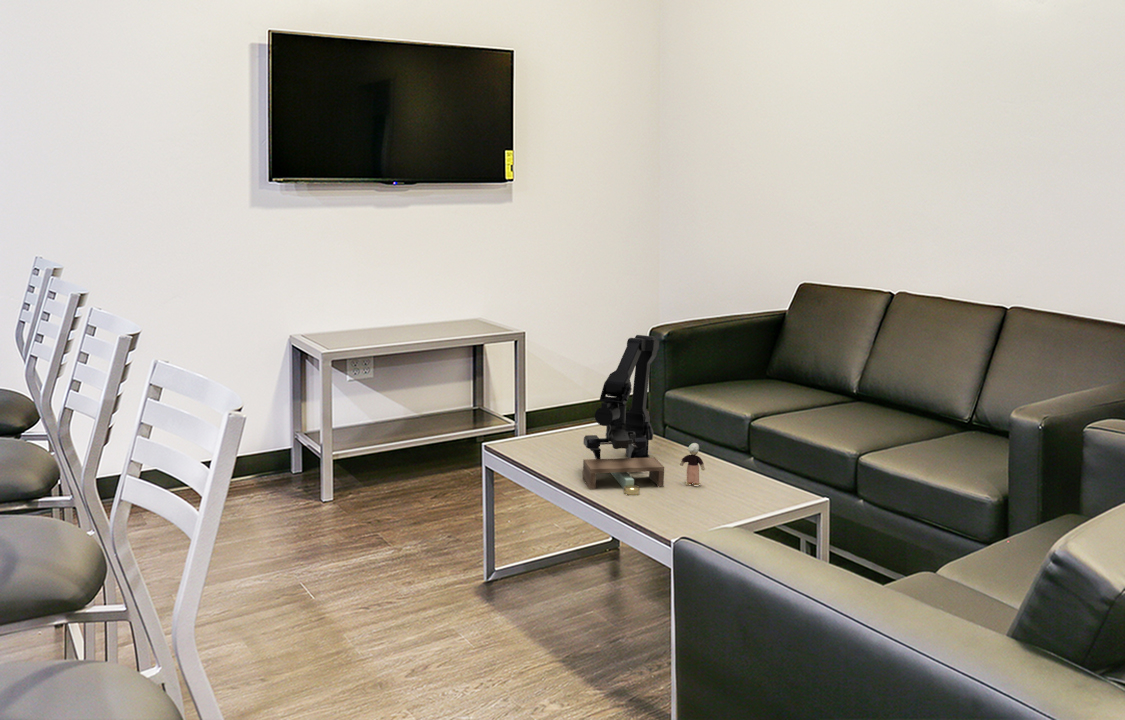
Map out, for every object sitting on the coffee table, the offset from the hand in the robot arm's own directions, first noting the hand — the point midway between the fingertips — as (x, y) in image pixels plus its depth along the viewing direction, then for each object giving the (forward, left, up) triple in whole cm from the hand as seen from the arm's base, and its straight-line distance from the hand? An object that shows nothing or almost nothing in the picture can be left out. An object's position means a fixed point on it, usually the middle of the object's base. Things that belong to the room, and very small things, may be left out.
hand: (614, 468), depth 290 cm
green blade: (0, +7, -2) cm, 7 cm away
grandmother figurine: (-20, +15, -1) cm, 25 cm away
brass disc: (0, +20, -1) cm, 20 cm away
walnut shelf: (0, +11, -1) cm, 11 cm away
